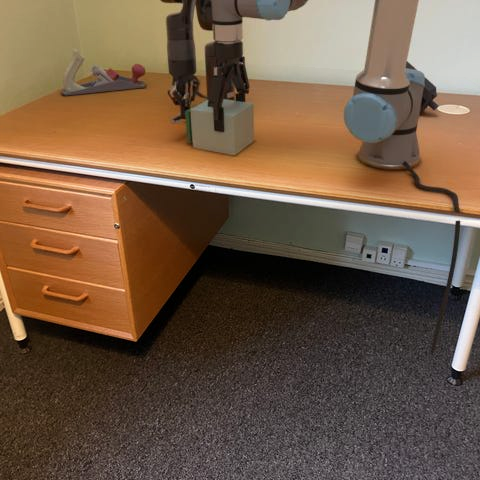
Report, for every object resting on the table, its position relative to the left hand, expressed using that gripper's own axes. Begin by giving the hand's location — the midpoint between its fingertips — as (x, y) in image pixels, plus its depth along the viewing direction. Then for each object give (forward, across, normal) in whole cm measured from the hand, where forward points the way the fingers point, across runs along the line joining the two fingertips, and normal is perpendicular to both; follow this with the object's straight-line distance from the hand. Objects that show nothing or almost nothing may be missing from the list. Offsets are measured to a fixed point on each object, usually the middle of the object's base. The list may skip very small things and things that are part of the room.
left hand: (185, 118), depth 151 cm
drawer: (+5, 0, +6) cm, 8 cm away
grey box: (+6, 0, +12) cm, 13 cm away
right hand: (0, 0, +14) cm, 14 cm away
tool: (+5, -51, +51) cm, 72 cm away
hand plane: (+5, -29, -55) cm, 62 cm away
